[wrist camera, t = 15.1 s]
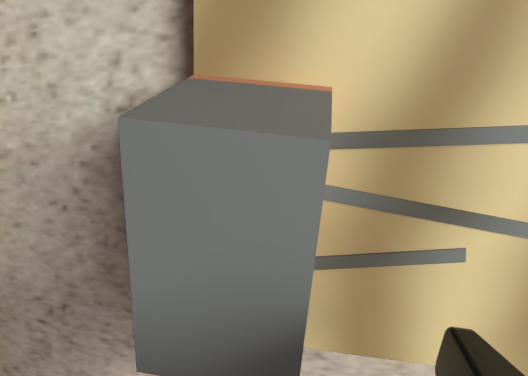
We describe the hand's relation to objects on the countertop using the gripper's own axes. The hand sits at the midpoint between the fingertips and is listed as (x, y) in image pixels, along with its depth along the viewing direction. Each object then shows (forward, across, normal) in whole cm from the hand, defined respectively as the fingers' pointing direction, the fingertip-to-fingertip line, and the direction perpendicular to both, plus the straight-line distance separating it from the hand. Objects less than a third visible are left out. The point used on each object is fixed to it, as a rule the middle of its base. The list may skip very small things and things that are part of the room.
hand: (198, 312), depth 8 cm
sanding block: (+6, 0, 0) cm, 6 cm away
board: (+8, -5, 0) cm, 9 cm away
